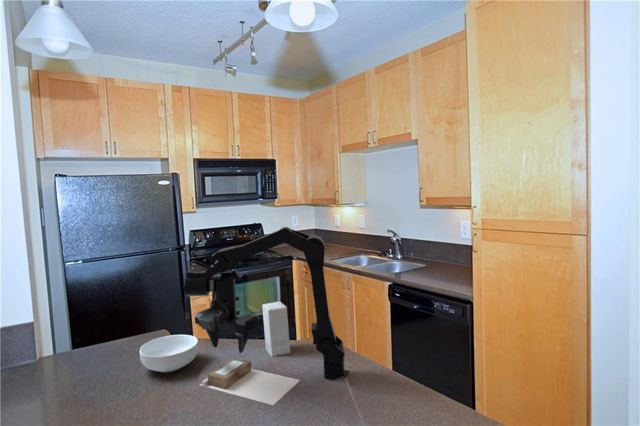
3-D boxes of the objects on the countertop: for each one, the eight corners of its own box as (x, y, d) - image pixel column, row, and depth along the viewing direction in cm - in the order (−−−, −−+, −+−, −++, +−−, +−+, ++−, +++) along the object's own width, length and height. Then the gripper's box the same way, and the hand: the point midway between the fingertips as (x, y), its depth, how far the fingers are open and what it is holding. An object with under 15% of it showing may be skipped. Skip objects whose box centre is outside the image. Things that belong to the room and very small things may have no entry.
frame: (235, 367, 113) (234, 357, 113) (251, 370, 110) (250, 360, 110) (208, 384, 103) (207, 374, 103) (225, 389, 101) (224, 378, 100)
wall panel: (231, 366, 115) (231, 358, 115) (300, 382, 104) (299, 374, 104) (200, 387, 104) (199, 378, 103) (273, 408, 93) (272, 398, 92)
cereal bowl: (187, 379, 109) (186, 355, 108) (130, 381, 109) (128, 357, 108) (206, 353, 126) (205, 332, 125) (156, 355, 126) (155, 334, 125)
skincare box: (290, 355, 122) (288, 307, 121) (270, 359, 119) (267, 310, 118) (283, 345, 129) (281, 300, 128) (264, 349, 127) (261, 303, 126)
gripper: (177, 299, 102) (181, 355, 104) (232, 307, 94) (235, 368, 95) (207, 288, 112) (210, 340, 113) (259, 295, 104) (262, 350, 105)
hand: (228, 349), depth 106 cm, fingers open, 9 cm apart
